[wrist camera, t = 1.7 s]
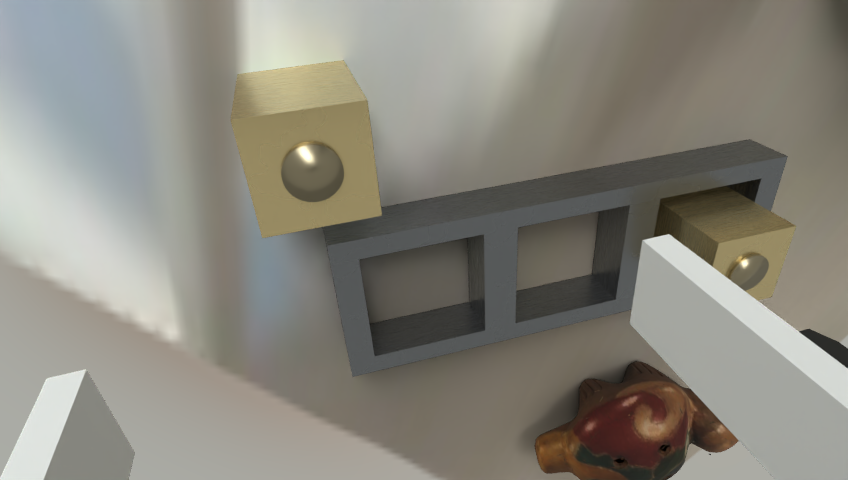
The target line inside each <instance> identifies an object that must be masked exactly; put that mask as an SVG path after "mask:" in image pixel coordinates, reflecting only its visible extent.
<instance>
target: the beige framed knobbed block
mask: <svg viewBox="0 0 848 480" xmlns="http://www.w3.org/2000/svg"><path fill="white" fill-rule="evenodd" d="M795 228H796V226H795V225H794V224H792V223H790V222H788V221H787V220H785V219H783V218H781V217H779V216H778V215H776V214H774V213H772V212H771V211H769V210H767V209H765V208H764V207H762V206H760V205H758V204H757V203H755V202H753V201H751V200H750V199H748V198H746V197H744V196H743V195H741V194H739V193H737V192H736V191H734V190H732V189H730V188H729V187H727V186H722V187H717V188H712V189H707V190H702V191H697V192H692V193H687V194H682V195H677V196H672V197H667V198H662V199H660V204H659V209H658V215H657V220H656V226H655V231H654V236H653V238H654V237H659V236H663V235H667V234H670V235H671V236H672V237H674V238H675V239H676V240H678V241H679V242H680V243H682V244H683V245H684V246H686V247H687V248H688V249H690V250H691V251H692V252H693V253H695V254H696V255H697V256H699V257H700V258H701V259H703V260H704V261H705V262H707V263H708V264H709V265H711V266H712V267H713V268H715V269H716V270H717V271H719V272H720V273H721V274H723V275H724V276H725V277H727V278H728V279H729V280H731V281H732V282H733V283H735V284H736V285H737V286H739V287H740V288H741V289H743V290H744V291H745V292H747V293H748V294H749V295H751V296H752V297H753V298H755V299H756V300H761V299H765V298H769V297H772V295H773V292H774V289H775V286H776V283H777V280H778V277H779V275H780V272H781V269H782V266H783V263H784V260H785V257H786V254H787V251H788V249H789V246H790V243H791V240H792V237H793V234H794V231H795Z"/></svg>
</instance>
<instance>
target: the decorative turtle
mask: <svg viewBox="0 0 848 480" xmlns="http://www.w3.org/2000/svg"><path fill="white" fill-rule="evenodd" d="M579 403H580V404H579V411H578V414H577V416H576V417H575V418H574V419H573V420H572V421H570V422H568V423H566V424H564V425H561V426H559V427H557V428H555V429H553V430H550V431H548V432H546V433H543V434H541V435H540V436H538V437H537V439H536V443H535V450H536V455H537V459H538V463H539V465H540V467H541V469H542V470H543V471H544V472H545V473H558V472H571V473H573V474H574V475H576V476H577V477H578V478H579V479H580V480H667V479H669V478H670V477H672V476H673V475H674V474H676V473H677V472H678V471H679V469H680V468H681V467H682V465H683V464H684V462H685V458H686V454H687V450H688V446H689V444H691V443H692V444H694V445H696V446H698V447H700V448H702V449H704V450H706V451H708V452H716V453H717V452H722V451H725V450H727V449H729V448H730V447H732V446H733V445H735V444H736V443H737V442H738V441H739V440H738V439H737V438H736V437H735V436H734V435H733V434H732V433H731V432H730V431H729V429H728V428H727V427H726V426H725V425H724V424H723V423H722V422H721V421H720V420H719V419H718V418H717V417H716V416H715V414H714V413H713V412H712V411H711V410H710V409H709V408H708V407H707V406H706V405H705V404H704V403H703V402H702V401H701V399H700V398H699V397H698V396H697V395H696V394H695V393H694V392H693V391H692V390H691V389H689V388H683V387H681V386H680V385H678V384H677V383H676V382H674V381H673V380H672V379H670V378H669V377H667V376H666V375H664V374H663V373H661V372H660V371H658V370H656V369H655V368H653V367H651V366H650V365H648V364H646V363H643V362H639V361H636V362H633V363H631V364H630V365H629V366H628V368H627V371H626V373H625V377H624V380H623V382H622V383H609V382H605V381H602V380H598V379H586V380H585V381H583V383H582V384H581V386H580V394H579ZM710 455H711V454H710Z"/></svg>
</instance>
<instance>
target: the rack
mask: <svg viewBox="0 0 848 480" xmlns="http://www.w3.org/2000/svg"><path fill="white" fill-rule="evenodd" d="M787 157H788V156H786V155H784V154H781V153H779V152H777V151H775V150H772V149H770V148H768V147H766V146H764V145H761V144H759V143H757V142H755V141H752V140H745V141H739V142H734V143H728V144H723V145H718V146H712V147H707V148H701V149H696V150H691V151H685V152H680V153H674V154H669V155H663V156H658V157H653V158H647V159H642V160H636V161H631V162H626V163H620V164H615V165H609V166H604V167H599V168H593V169H588V170H582V171H577V172H571V173H566V174H561V175H555V176H550V177H544V178H539V179H534V180H528V181H523V182H517V183H512V184H507V185H501V186H496V187H490V188H485V189H479V190H474V191H469V192H463V193H458V194H452V195H447V196H442V197H436V198H431V199H425V200H420V201H415V202H409V203H404V204H398V205H393V206H387V207H382V208H381V212H382V216H378V217H372V218H367V219H362V220H356V221H351V222H346V223H340V224H335V225H330V226H324V227H323V230H324V235H325V240H326V245H327V250H328V255H329V260H330V265H331V270H332V275H333V280H334V286H335V291H336V296H337V301H338V306H339V311H340V316H341V321H342V326H343V331H344V336H345V341H346V346H347V351H348V356H349V361H350V366H351V371H352V376H353V377H354V376H358V375H362V374H366V373H371V372H375V371H379V370H383V369H387V368H391V367H395V366H400V365H404V364H408V363H412V362H416V361H420V360H425V359H429V358H433V357H437V356H441V355H445V354H449V353H454V352H458V351H462V350H466V349H470V348H474V347H479V346H483V345H487V344H491V343H495V342H499V341H503V340H508V339H512V338H516V337H520V336H524V335H528V334H532V333H537V332H541V331H545V330H549V329H553V328H557V327H562V326H566V325H570V324H574V323H578V322H582V321H586V320H591V319H595V318H599V317H603V316H607V315H611V314H616V313H620V312H624V311H628V310H632V305H633V298H634V292H635V285H636V279H637V272H638V266H639V259H640V253H641V246H642V240H646V239H650V238H653V236H654V231H655V226H656V220H657V215H658V209H659V204H660V199H662V198H667V197H672V196H677V195H682V194H687V193H692V192H697V191H702V190H707V189H712V188H717V187H722V186H727V187H729V188H730V189H732V190H734V191H736V192H737V193H739V194H741V195H743V196H744V197H746V198H748V199H750V200H751V201H753V202H755V203H757V204H758V205H760V206H762V207H764V208H765V209H767V210H769V211H771V209H772V205H773V202H774V199H775V196H776V192H777V189H778V186H779V183H780V180H781V176H782V173H783V170H784V167H785V163H786V160H787ZM597 211H599V219H598V228H597V236H596V245H595V253H594V262H593V270H592V275H587V276H583V277H578V278H574V279H569V280H565V281H560V282H556V283H552V284H547V285H543V286H538V287H534V288H529V289H525V290H520V291H516V281H517V242H518V227H523V226H528V225H533V224H538V223H543V222H548V221H553V220H558V219H562V218H567V217H572V216H577V215H582V214H587V213H592V212H597ZM463 238H468V267H469V299H470V302H467V303H462V304H458V305H453V306H449V307H444V308H440V309H436V310H431V311H427V312H422V313H418V314H413V315H409V316H404V317H400V318H395V319H391V320H386V321H382V322H378V323H373V324H369V318H368V312H367V306H366V300H365V294H364V288H363V281H362V275H361V269H360V263H359V259H364V258H369V257H374V256H378V255H383V254H388V253H393V252H398V251H403V250H408V249H413V248H418V247H423V246H428V245H433V244H438V243H443V242H448V241H453V240H458V239H463Z"/></svg>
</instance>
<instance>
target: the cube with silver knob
mask: <svg viewBox="0 0 848 480" xmlns="http://www.w3.org/2000/svg"><path fill="white" fill-rule="evenodd" d="M231 124H232V127H233V131H234V135H235V138H236V142H237V146H238V149H239V153H240V157H241V161H242V164H243V168H244V172H245V175H246V179H247V183H248V187H249V190H250V194H251V198H252V201H253V205H254V209H255V212H256V216H257V220H258V224H259V227H260V231H261V235H262V238H266V237H271V236H276V235H282V234H287V233H292V232H298V231H303V230H308V229H314V228H319V227H324V226H330V225H335V224H340V223H346V222H351V221H356V220H362V219H367V218H372V217H378V216H382V212H381V204H380V196H379V188H378V180H377V172H376V165H375V157H374V149H373V141H372V133H371V126H370V118H369V110H368V102H367V99H366V97H365V95H364V94H363V92H362V90H361V89H360V87H359V85H358V84H357V82H356V80H355V79H354V77H353V75H352V74H351V72H350V70H349V69H348V67H347V65H346V64H345V62H344V60H342V61H334V62H326V63H319V64H311V65H304V66H296V67H289V68H281V69H273V70H266V71H258V72H251V73H243V74H238V75H237V81H236V88H235V94H234V101H233V108H232V114H231Z"/></svg>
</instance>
